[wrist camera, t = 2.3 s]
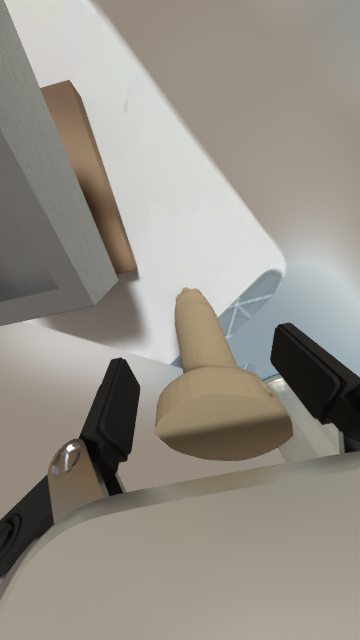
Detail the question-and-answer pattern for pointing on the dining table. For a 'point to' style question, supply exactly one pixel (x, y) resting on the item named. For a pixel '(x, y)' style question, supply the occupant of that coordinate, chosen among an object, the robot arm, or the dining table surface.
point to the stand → (89, 170)
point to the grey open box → (41, 204)
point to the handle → (216, 394)
